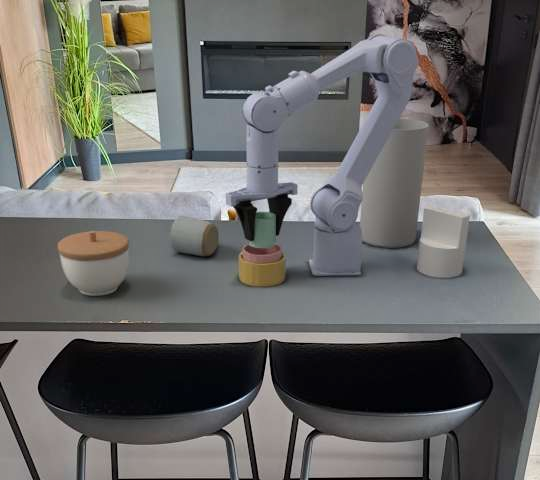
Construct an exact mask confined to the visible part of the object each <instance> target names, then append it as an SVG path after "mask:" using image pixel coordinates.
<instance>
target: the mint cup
mask: <svg viewBox="0 0 540 480" xmlns="http://www.w3.org/2000/svg"><path fill="white" fill-rule="evenodd" d="M276 238H277V236H276V215H275V214H273V213H270V212H269V211H257V212H256V217H255V224H254V241H249V240H248V244H249V245H250V246H252V247H255V248H270V247H273V246H274V245H275V244H276V241H277V240H276Z"/></svg>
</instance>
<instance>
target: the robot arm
mask: <svg viewBox="0 0 540 480" xmlns="http://www.w3.org/2000/svg"><path fill="white" fill-rule="evenodd" d="M419 65H420V61H419V58H418V54H417V50H416V47H415V45H414V43H413V42H412V41H411V40H409V39H407V38H404V37H392V36H388V35H385V34H381V33H376V34H374V35H372V36H370V37H369V38H368V39H363V40H361V41H359V42H358V43H356V44H355V45H354V46H353V47H350V48H349V49H348V50H346V51H345V52H343V53H341V54H340V55H338V56H336V57H335V58H334V59H332V60H330V61H328V62H327V63H325V64H323V65H322V66H320V67H319V68H318V69H316V70H314V71H313V72H311V73H310V72H307V71H305V70H300V71H297V70H292V71H291V72H289V73H288V74H287V75H288V77H287V78H286V79H284V80H281V81H280V82H278V83H277V84H275V85H273V86H272V85H268V86H266V87H265V88H264V90H265V91H264V93H263V92H254V93H253V94H251V95H249V96H248V97H247V98H246V101H244V103H243V107H242V108H241V111H240V112H241V116H242V119H243V120H244V122H245V123H246V187H242V188H239V189H237V190H233V191H231V192H226V193H225V204H226V205H228V206H230V207H233V209H234V211H235V213H236V214H237V217H238V219H239V222H240V224H241V228H242V232H243V235H244V236H243V237H244V239H245V240H246V241H248V242H249V241H254V224H255V217H256V212H258V207H257V206H254V203H252V202H256V201H262V200H267V205H268V206H267V207H268V212H270V213H273V214H275V215H276V237H278V236H280V233H281V229H282V225H283V223H284V220H285V217H286V214H287V212H288V211H289V209H290V208H291V206H292V205H293V199H292V197H289V196H290V195H291V196H296V195H298V185H299V184H297V183H295V182H292V181H290V182H289V181H288V182H279V143H280V142H279V141H280V140H279V128H281V126H282V125H283V123H284V120H286V119H287V118H289V117H291V116H293V115H295V114H296V113H298V112H300V111H302V110H303V109H305V108H307V107H309V106H311V105H313V104H314V103H316V102H317V100H318V97H319V95H320V92H321V91H323V90H326V89H328V88H329V87H331V86H333V85H336V84H338V83H339V82H341V81H343V80H345V79H347V78H350V77H351V76H353V75H355V74H358V73H360V72H361V73H369V74H370V76H371V77H372V79H373V80H374V83H375V84H374V85H375V87H376V88H375V89H376V91H377V98H376V100H375V101H374V103H373V105H372V107H371V109H370V111H369V113H368V114H367V116H366V118H365V120H364V122H363V123H362V125H361V127H360V129H359V130H358V132H357V135H356V136H355V138H354V139H353V142H352V143H351V145H350V147H349V149H348V151H347V153H346V154H345V156H344V158H343V159H342V162H341V163H340V166H339V167H338V169H337V170H336V172H335V173H333V174H331V175H330V176H328V177H327V178H326V179H325V180H324V182H323V184H322V185H321V187H319V188H318V189H317V190H315V191H314V193H313V194H312V195H311V198H310V201H309V208H310V210H311V213H312V214H313V215H314V216H315V219H314V223H313V225H314V226H313V228H314V229H313V250H312V252H313V253H312V258H311V259H309V260H308V263H309V267H310V270H311V273H312V276H314V277H323V276H325V277H327V276H330V277H331V276H332V277H333V276H360V275H361V273H362V272H361V267H362V251H363V241H362V230H361V227H360V225H354V224H355V223H356V222H357V220H358V216H359V209H360V206H361V203H362V200H363V196H362V189H363V183H364V181H365V179H366V177H367V175H368V174H369V172H370V170H371V168H372V166H373V165H374V163H375V161H376V159H377V158H378V156H379V154H380V152H381V150H382V149H383V147H384V145H385V143H386V142H387V140H388V138H389V136H390V134H391V133H392V131H393V129H394V127H395V125H396V124H397V122H398V120H399V118H401V117H402V115H403V113H404V111H405V110H406V108H407V106H408V104H409V103H410V100H411V96H412V90H413V83H414V75H415V73H416V71H417V70H418V68H419Z"/></svg>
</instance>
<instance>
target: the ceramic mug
mask: <svg viewBox="0 0 540 480" xmlns="http://www.w3.org/2000/svg"><path fill="white" fill-rule="evenodd" d="M169 235H170V236H169V238H170V239H169V241H170V246H171V248H172V250H173V251H174V252H176V253H182V254H186V255H187V254H188V255H194V256H198V257H209V256H211V255H213V254H214V252H215V251H216V249H217V247H218V244H219V229H218V227H217V226H216V224H215V223H214V222H213V223H212V222H210V221H209V220H204V219H199V218H195V217H192V216H186V215H178V216H177V217H176V218H175V219H174V221H173V223H172V226H171V229H170V234H169Z"/></svg>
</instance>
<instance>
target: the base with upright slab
mask: <svg viewBox="0 0 540 480" xmlns="http://www.w3.org/2000/svg"><path fill="white" fill-rule="evenodd" d="M470 219H471V213H467V212H464V211H459V210H454V209H450V208H446V207H442V206H437V205H434V204H431V205H426V206H425V207H424V208H423V215H422V223H421V230H420V231H421V232H420V238H419V242H418V243H419V244H418V253H417V261H416V269H417V271H418V272H419V273H421V274H423V275H425V276H428V277H432V278H440V279H441V278H442V279H447V278H454V277H459V276H460V275H462V273H463V269H464V261H465V257H466V256H465V255H466V248H467V240H468V233H469V226H470Z"/></svg>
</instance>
